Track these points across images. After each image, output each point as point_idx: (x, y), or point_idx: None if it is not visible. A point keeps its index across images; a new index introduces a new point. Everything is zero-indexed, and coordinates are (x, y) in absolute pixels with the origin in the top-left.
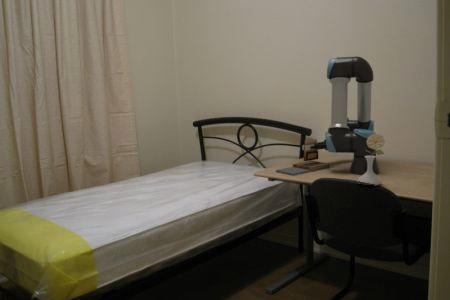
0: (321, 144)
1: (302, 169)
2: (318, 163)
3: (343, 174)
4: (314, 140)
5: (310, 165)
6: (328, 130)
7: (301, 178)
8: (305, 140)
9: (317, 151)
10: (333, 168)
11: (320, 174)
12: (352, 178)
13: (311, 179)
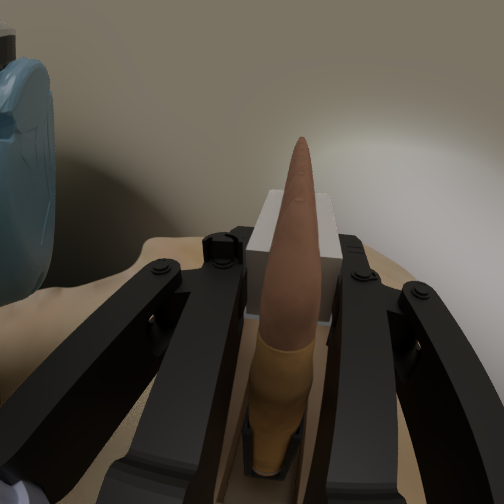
0: (153, 396)
1: (258, 318)
2: (223, 455)
3: (31, 345)
4: (284, 202)
5: (238, 357)
6: (15, 55)
7: (185, 247)
8: (303, 139)
9: (246, 421)
10: (98, 483)
11: None
12: (13, 303)
13: (146, 251)
